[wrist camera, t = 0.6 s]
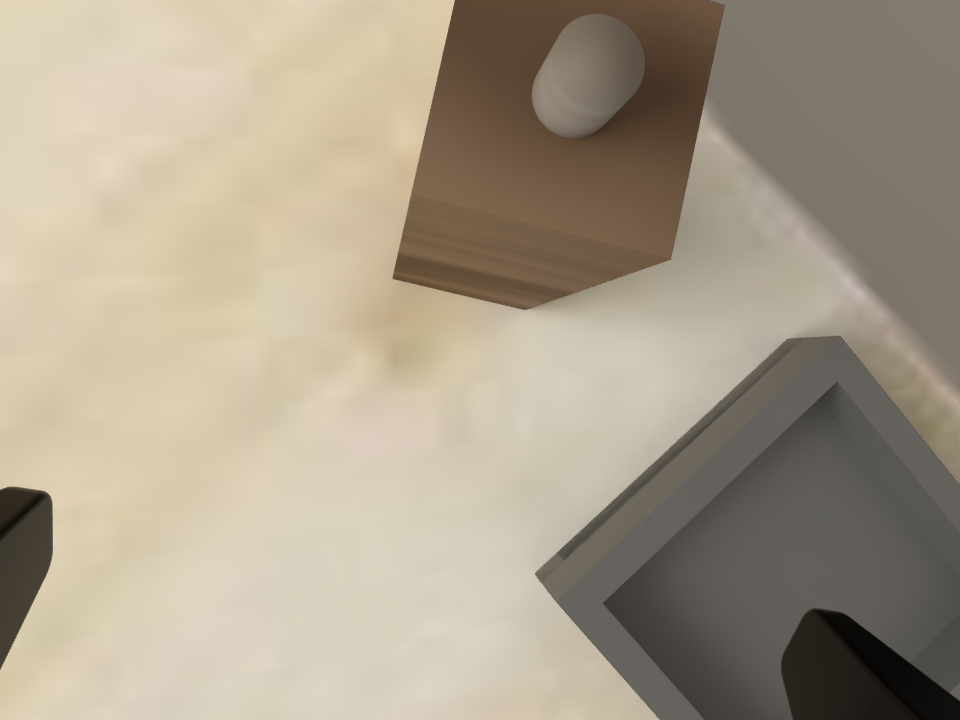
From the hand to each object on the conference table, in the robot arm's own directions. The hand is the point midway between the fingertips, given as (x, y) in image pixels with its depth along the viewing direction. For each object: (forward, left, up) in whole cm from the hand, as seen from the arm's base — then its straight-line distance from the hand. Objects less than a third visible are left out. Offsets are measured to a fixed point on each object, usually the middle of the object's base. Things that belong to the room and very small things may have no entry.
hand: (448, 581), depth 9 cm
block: (+6, +4, -16) cm, 18 cm away
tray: (+6, -12, -16) cm, 21 cm away
